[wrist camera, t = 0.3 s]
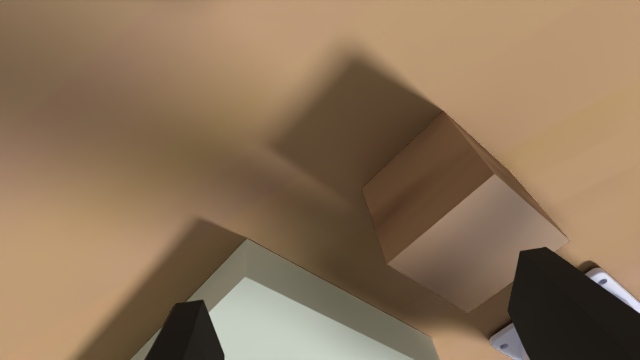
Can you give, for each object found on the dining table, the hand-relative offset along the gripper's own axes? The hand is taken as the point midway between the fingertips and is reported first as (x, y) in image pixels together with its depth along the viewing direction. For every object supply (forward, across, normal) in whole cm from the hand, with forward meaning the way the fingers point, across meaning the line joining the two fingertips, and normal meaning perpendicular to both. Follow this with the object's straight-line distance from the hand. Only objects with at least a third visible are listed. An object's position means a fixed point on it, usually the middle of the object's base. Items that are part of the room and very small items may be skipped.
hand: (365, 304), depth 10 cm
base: (+10, +5, +16) cm, 19 cm away
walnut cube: (+10, -5, +4) cm, 12 cm away
